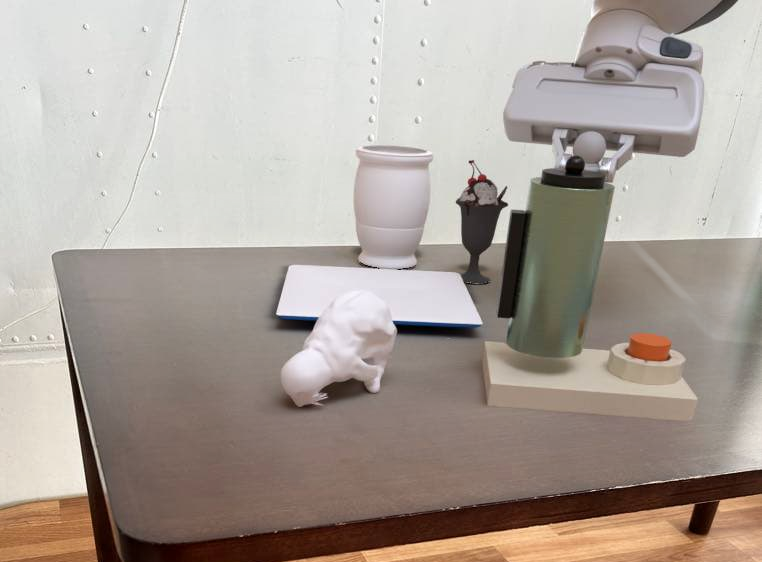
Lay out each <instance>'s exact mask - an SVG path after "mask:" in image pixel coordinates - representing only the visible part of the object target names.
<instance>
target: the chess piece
mask: <svg viewBox="0 0 762 562" xmlns="http://www.w3.org/2000/svg"><path fill="white" fill-rule="evenodd" d="M606 151H607V150H606V142H605V139H604V138H603V136H602V135H601V134H599V133H597V132H593V131H589V132H585V133H583V134H581V135H580V136H579V137H578V138H577V139H576V141H575V143H574V145H573V147H572V156H574V155H578V156H580V157H582V158H583V159H584V162H585V168H584V170H588V171H594V172H599V170H600V166H601V165H600V163H601V162H602V159H603V157H605V154H606Z"/></svg>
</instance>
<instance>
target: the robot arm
mask: <svg viewBox="0 0 762 562" xmlns="http://www.w3.org/2000/svg"><path fill="white" fill-rule="evenodd" d="M738 1H739V0H592V4H591V9H590V19H589V21H588V23H587V24H586V26H585V28H584V29H583V33H582V36H581V39H580V42H579V45H578V48H577V51H576V54H575V57H574V58H575V59H574V61H573V62H569V61H568V62H567V61H566V62H565V61H550V62H549V61H545V60H534V61H532V64H526V65H524V66H523V67H520V68H519V69H518V70H517V71H516V74H515V76H514V80H513V83H512V87H511V88H512V90H511V92H510V94H509V96H508V98H507V100H506V103H505V106H504V108H503V111H502V126H503V132H504V134H505V137H506V138H507V139H508V141H509V142H515V143H516V142H517V143H525V144H535V145H546V146H547V145H549V146H551V147H552V148H551V149H552V155H553V157H554V161H555V162H554V167H553V168H565V164H566V161H567V160H568V159H569V158H570V157H571V156H573V153H572V154H571V153H566V151H567V148H568V147H569V148H573V145H574V143H575V141H576V139H577V138H578V137H579V136H580V135H581V134H583V133H585V132H589V131H593V132H597V133H599V134H601V135H602V136H603V138H604V139H605V142H606V151H612V152H615V153H614V154H612V156H611V157H605V156H603V158H602V159H601V162H600V163H601V164H600V165H599V166H600V170H599V173H602V174H605V175H606V177H605V183H609V184H613V183H614V180H615V176H616V173H617V171H620V169H621V168H622V167H623V166H624V165H626V164H627V163H628V162H629V161H630V160H631V159H632V156H633V154H645V155H646V154H647V155H654V156H666V157H667V156H668V157H676V158H684V157H687V156H688V155H690V154H691V153H692V152H693V151H694V150H695V149H696V145H697V142H698V137H699V134H700V133H699V132H700V126H701V122H702V114H703V110H704V100H705V83H704V82H705V81H704V78H703V76H702V73H703V63H704V48H703V47H702V46H701V45H699V44H698V43H695V42H692V41H690V40H689V41H688V40H685V39H683V38H680V37H677V35H683V34H684V33H688V32H690V31H693V30H695V29H698V28H700V27H702V26H705V25H707V24H710V23H712V22H713V21H715V20H717V19H719V18H720V17H721V16H723V15H724V14H725V13H727V12H728V11H729V10H730V9H731V8H733V7H734V5H736V4H737V3H738Z"/></svg>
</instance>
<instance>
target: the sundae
mask: <svg viewBox="0 0 762 562" xmlns="http://www.w3.org/2000/svg"><path fill="white" fill-rule="evenodd" d="M468 164H470V165H471V168H472V175H471V177H470V178H468V180H467V185H468V186H466V187H464V189H463V190H462V192H461V194H460V197H459V198H457V199H456V200H455V204H456V205H458V207H459V208H460V217H461V219H460V221H461V222H460V234H461V244H462V246H463V247H464V249H465V250H466V251H467V252H468V253H469V255H470V258H469V264H468V268H467V270H466V271H465V272H463V273H462V274H460V273H459V274H460V275H461V278H462V280H463V281H464V282H469V283H470V282H471V283H485V282H488V281H490V282H491V279H490V278H489V277H487V276H484V275H483V274H482V273H481V272H480V268H479V262H480V256H481V255H482V254H483V253H484V252H485V251H487V250H488V249H489V248H490V247H491V246H492V244H493V240H494V237H495V233H496V229H497V226H498V225H497V224H498V221H499V217H500V215H501V212H502V210H503V209H505V208H507V207H508V206H509V203H508V202H506V201H504V200H503V198H504V196H505V194H506V192H507V190H508V186H507V185H506V186H504V188H503V189H502V190H501V192H500V193H499V192H498V186H497V185H496V184H495V183H494V182H493V181H492V180H491V179H488V178H487V175H486V174H484V173H482V172H481V171H480V169H479V168H478V166H477V165H476V163H475V160H474V159H472V160H468ZM474 166H475V167H474ZM475 168H476V170H477V171H478V173H479V175H478V176H477V178H476V177H474V176H475ZM498 193H499V195H498Z"/></svg>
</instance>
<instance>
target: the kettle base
mask: <svg viewBox="0 0 762 562" xmlns="http://www.w3.org/2000/svg"><path fill="white" fill-rule="evenodd" d="M483 343H484V344H483V352H482V358H481V359H482V360H481V364H482V372H483V373H482V374H483V381H484V389H485V396H486V404H487V407H497V408H498V407H499V408H508V409H521V410H522V409H524V410H536V411H548V412H559V413H560V412H563V413H574V414H586V415H598V416H599V415H600V416H610V417H611V416H612V417H623V418H637V419H649V420H662V421H674V422H675V421H677V422H687V423H688V422H689V423H692V422H693V419H694V416H695V412H696V408H697V405H698V402H699V398H698V397H697V396H696V394H695V393H694V391H693V390H692V388H691V387H690V385H688V383H687V381H686V380H685V379H684V377H683V373H684V368H685V365H686V361H687V359H686V357H684V355H683V354H682V352H681V353H680V352H679V351H676V350H674V349H671V348H670V351H669V355H668V359H667V361H662V362H657V361H645V360H641V359H637V358H633V357H631V356H629V355H627V352H628V347H629V343H630V342H622V343H617V344H615V345H614V346H612V347H611V348H610V349H609V350H608V349H595V348H583V351H582V352H581V353H580V354H579V355H577V356H574V357H569V358H543V357H536V356H531V355H527V354H523V353H520V352H518V351H515V350H513V349H512V348H510V347H509V346H508V345H507V343H506V342H500V341H487V340H486V341H484V342H483Z"/></svg>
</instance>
